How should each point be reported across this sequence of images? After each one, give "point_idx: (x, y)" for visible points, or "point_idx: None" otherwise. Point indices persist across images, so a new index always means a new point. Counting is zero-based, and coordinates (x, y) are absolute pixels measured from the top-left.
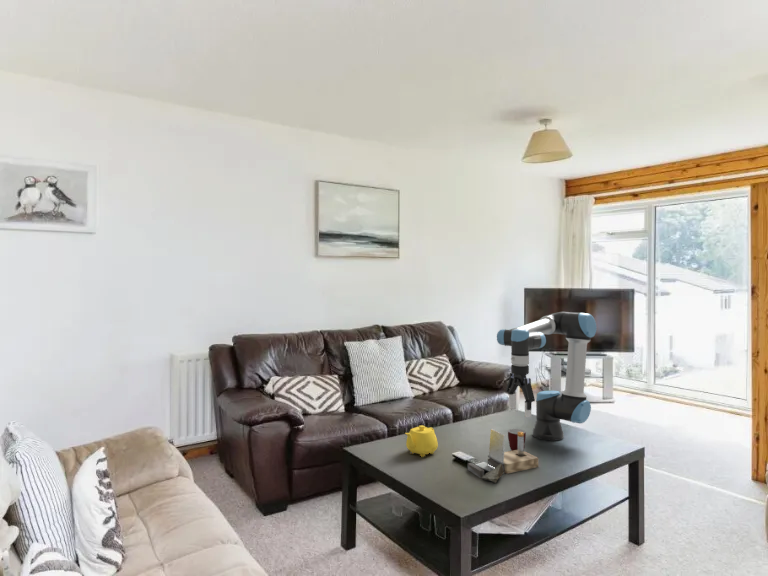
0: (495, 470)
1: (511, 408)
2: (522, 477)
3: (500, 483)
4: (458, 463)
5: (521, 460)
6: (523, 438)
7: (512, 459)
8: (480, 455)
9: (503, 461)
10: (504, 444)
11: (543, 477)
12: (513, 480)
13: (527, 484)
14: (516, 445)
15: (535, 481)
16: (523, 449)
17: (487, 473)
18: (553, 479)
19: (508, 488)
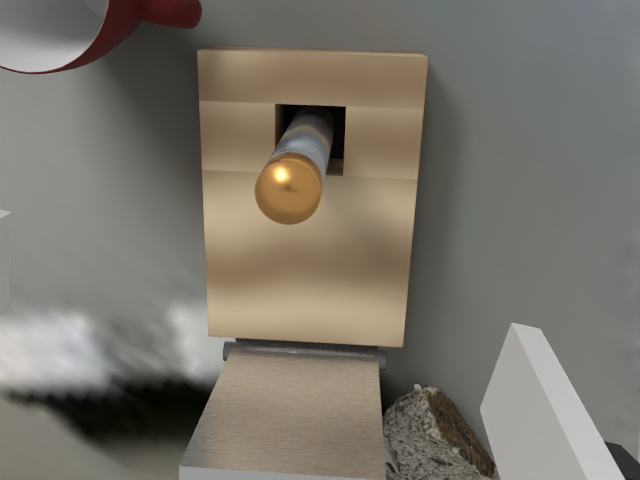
0: (426, 443)
1: (6, 282)
2: (492, 274)
3: (483, 426)
4: (142, 442)
5: (400, 216)
6: (321, 165)
7: (352, 258)
8: (70, 262)
9: (377, 360)
10: (382, 430)
11: (572, 159)
12: (494, 346)
13: (583, 318)
14: (130, 32)
15: (583, 249)
16: (326, 140)
17: (395, 459)
18: (636, 124)
19: None
